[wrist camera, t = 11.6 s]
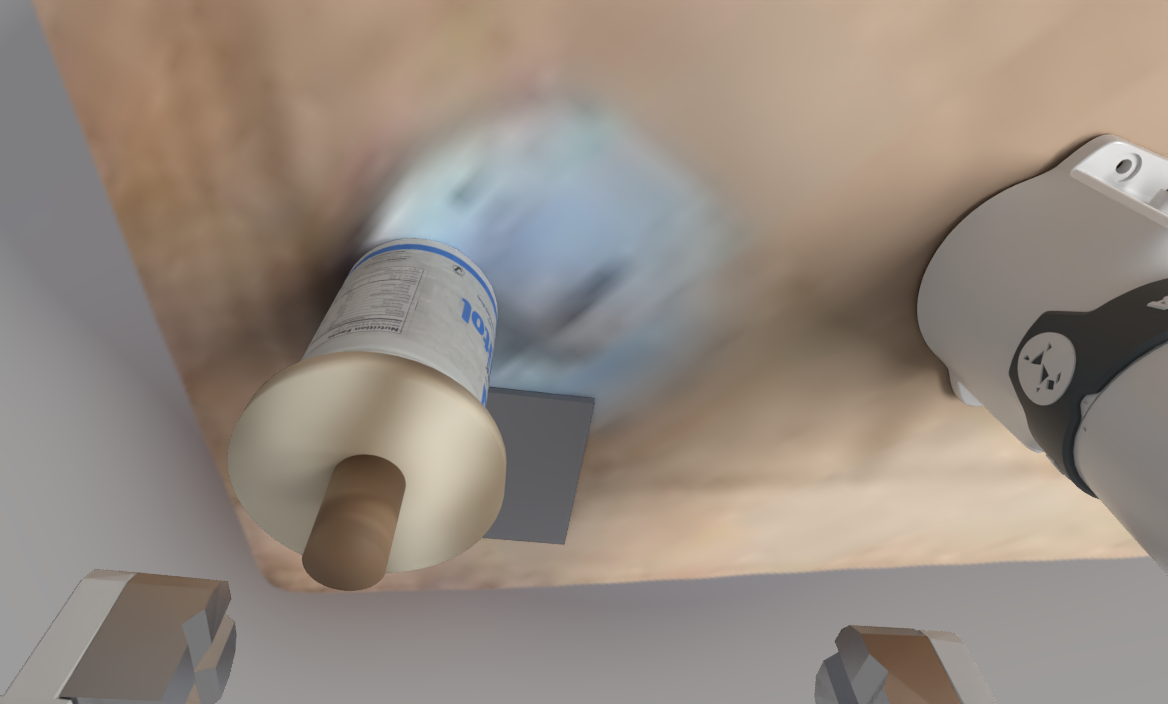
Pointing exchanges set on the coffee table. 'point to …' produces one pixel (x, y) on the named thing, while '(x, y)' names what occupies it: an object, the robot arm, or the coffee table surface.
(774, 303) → the coffee table surface
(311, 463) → the lid
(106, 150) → the coffee table surface
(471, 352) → the supplement tub
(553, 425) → the mat
